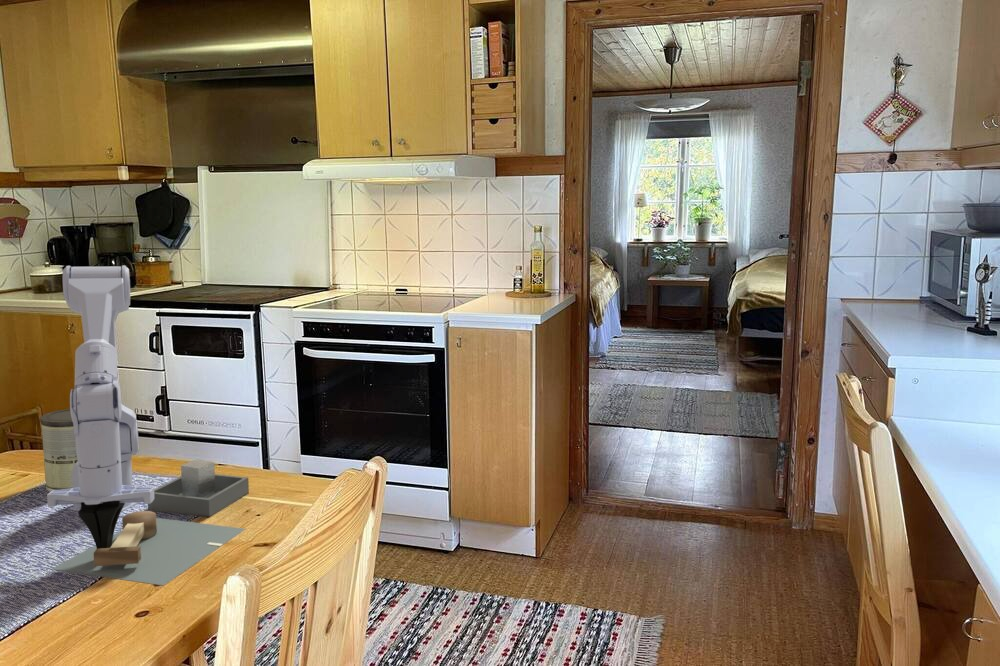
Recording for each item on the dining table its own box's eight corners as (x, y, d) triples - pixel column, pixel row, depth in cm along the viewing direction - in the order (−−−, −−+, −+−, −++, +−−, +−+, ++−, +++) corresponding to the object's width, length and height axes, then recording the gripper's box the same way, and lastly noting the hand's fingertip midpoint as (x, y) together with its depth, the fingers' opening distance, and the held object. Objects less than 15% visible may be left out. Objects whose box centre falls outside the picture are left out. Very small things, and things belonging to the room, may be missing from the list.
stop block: (182, 502, 139) (180, 465, 138) (198, 495, 143) (197, 459, 142) (199, 505, 138) (198, 468, 137) (215, 498, 141) (214, 462, 140)
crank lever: (124, 529, 127) (123, 511, 126) (163, 527, 128) (162, 509, 128) (94, 571, 112) (93, 552, 111) (138, 568, 113) (137, 549, 112)
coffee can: (40, 482, 150) (36, 412, 148) (99, 472, 156) (95, 405, 154) (49, 497, 142) (44, 423, 140) (110, 486, 148) (106, 416, 146)
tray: (148, 511, 136) (147, 492, 136) (191, 488, 148) (190, 471, 147) (209, 519, 133) (209, 500, 133) (248, 495, 145) (248, 477, 145)
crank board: (51, 571, 113) (51, 568, 113) (148, 518, 133) (148, 516, 133) (163, 588, 108) (163, 584, 108) (245, 531, 128) (245, 528, 128)
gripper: (35, 472, 109) (41, 562, 111) (142, 469, 111) (146, 558, 113) (56, 457, 116) (62, 542, 118) (156, 455, 118) (160, 538, 120)
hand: (104, 548), depth 116 cm, fingers closed
